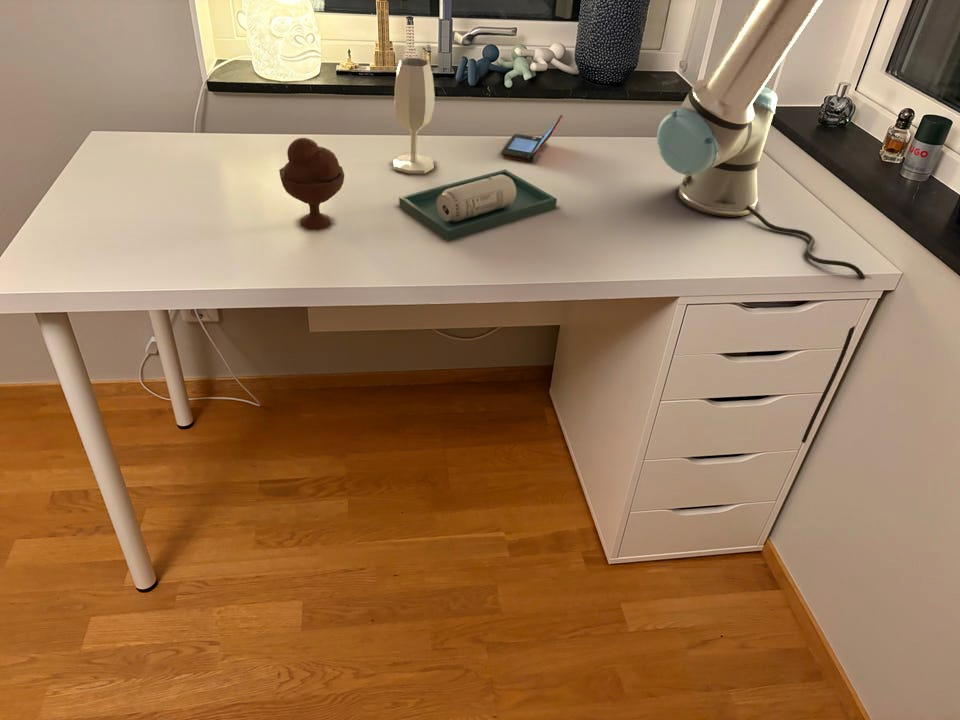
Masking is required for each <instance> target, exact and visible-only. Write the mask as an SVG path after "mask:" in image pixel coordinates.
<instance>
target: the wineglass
mask: <svg viewBox="0 0 960 720" xmlns="http://www.w3.org/2000/svg"><path fill="white" fill-rule="evenodd" d="M435 95H436V94H435V84H434V75H433V70H432V66H431V63H430V60H429V59H427V58H422V57H410V56H409V57H407V56H406V57H404V58H401V59H400V60H399V63H398V66H397V69H396V76H395V82H394V108H395V109H394V110H395V113H396V117H397V121H398V123H400V124H401V125H402V126H403V127H405V129H407V131H409V132H410V149H409V150H410V151H409V152H410V154H401V155H399V156H397V157H396V158H393V161H392V163H393V170H396V171H399V172H402V173H406V174H427V173H428V172H430V171H431V170H433V169H434V168H435V164H434V160H433V158H431V157H427V156H424V155H422V154H418V132H419V131H420V130H422V129H423V128H424V127H425V126H426V125H428V124H429V123H430V122H431V121H432V118H433V113H434V110H435V97H436V96H435Z"/></svg>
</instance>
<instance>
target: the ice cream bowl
mask: <svg viewBox="0 0 960 720" xmlns="http://www.w3.org/2000/svg"><path fill="white" fill-rule="evenodd" d="M286 151H287V152H286V153H287V154H286V155H287V160H288V161H287V163H285V165H284V166H283V167H281V168H280V169H278V171H279V178H280V181H281V184H282V187H283V189H284V190H285V193H287V194H288V195H289V196H291V197H292V198H294V199H295V200H298V201H300V202H302V203H304V204H307V205H308V206H309V213H307V214H305V215H303V216H302V217H301V218H300V219H299V223H300V224H299V225H300V227H301V228H304V229H307V230H312V231H313V230H315V231H318V230H323V229H327V228H328V227H329V226H330V225H332V222H331V218H330V216H328V215H326V214H324V213H322V212H321V211H320V205H321V204H323V203H325V202H327V201H329V200H330V199H332V198H333V197H334V196H335V195H336V194H337V193H338V192H339V191H341V189H342V187H343V184H344V182H345V180H344V179H345V172H344V169H343V166H341V165H340V163H339V159H338V157H337V156H336V155H335V153H334V152H333V151H332V150H330V149H328V148H326V147H323V146H319V144H318V143H317V142H316V141H315V140H313V139H311V138H308V137H299V138H296V139H294V140H293V141H292V142H291V143H290V144H289V146H288V148H287V150H286Z"/></svg>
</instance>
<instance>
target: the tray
mask: <svg viewBox="0 0 960 720" xmlns="http://www.w3.org/2000/svg"><path fill="white" fill-rule="evenodd" d="M501 174H502V175H505V176H507V177H510V178H511V179H512V180H513V182H514V184H515V186H516V192H517V193H516V198H515V200H514V201H513V203H512V204H511V205H510V206H508V207H504V208H501V209H498V210H494V211H491V212H488V213H485V214H481V215H478V216H475V217H471V218H468V219H465V220H462V221H458V222H452V221H444V220H443V219H442V218H441V217H440V216H439V214H438V211H437V207H436V200H437V197H438V196H439V195H441V194H442V193H443V192H444V191H445V190H446V189H449V188H453V187H457V186H460V185H464V184H468V183H471V182H475V181H479V180H482V179H486V178H490V177H493V176H497V175H501ZM557 200H558V198H556V197H555V196H553V195H551V194H550V193H547V192H546V191H545V190H543V189H541V188H539V187H537V186H536V185H533V184H532V183H530V182H529V181H526V180H525V179H523V178H521V177H519V176H518V175H516V174H514V173H512V172H511V171H509V170H507V169H502V170H498V171H494V172H489V173H485V174H483V175H479V176H475V177H471V178H468V179H462V180H459V181H455V182H452V183H448V184H444V185H440V186H436V187H433V188H429V189H425V190H421V191H417V192H413V193H410V194H406V195H402V196H399V197H398V207H399V208H400V209H402V210H403V211H404V212H406V213H408V214H409V215H410V216H411V217H413V218H414V219H416V220H417V221H419V222H420V223H421V224H423V225H424V226H426V227H427V228H428V229H429V230H431V231H433V232H434V233H436V234H437V235H439V236H440V237H441V238H442V239H444V240H445V241H447V242H450V241H454V240H456V239H461V238H463V237H467V236H469V235H472V234H477V233H480V232H483V231H486V230H490V229H493V228H496V227H499V226H502V225H506V224H508V223H513V222H515V221H518V220H522V219H524V218H529V217H532V216H534V215H538V214H541V213H544V212H547V211H551V210H553V209H556V208H557V202H558V201H557Z"/></svg>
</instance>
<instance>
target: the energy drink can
mask: <svg viewBox="0 0 960 720" xmlns="http://www.w3.org/2000/svg"><path fill="white" fill-rule="evenodd" d="M516 193H517V192H516V186H515V184H514V182H513V180H512V179H511V178H510V177H507V176H505V175H502V174H501V175H497V176H493V177H490V178H486V179H482V180H479V181H475V182H471V183H468V184H464V185H460V186H457V187H453V188H449V189H446V190H445V191H444V192H443V193H442V194H441V195H439V196H438V197H437V200H436V207H437V211H438V214H439V216H440V217H441V218H442V219H443V220H444V221H452V222H458V221H462V220H465V219H468V218H471V217H475V216H478V215H481V214H485V213H488V212H491V211H494V210H498V209H501V208H504V207H508V206H510V205H511V204H512V203H513V201H514V200H515V198H516Z"/></svg>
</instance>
